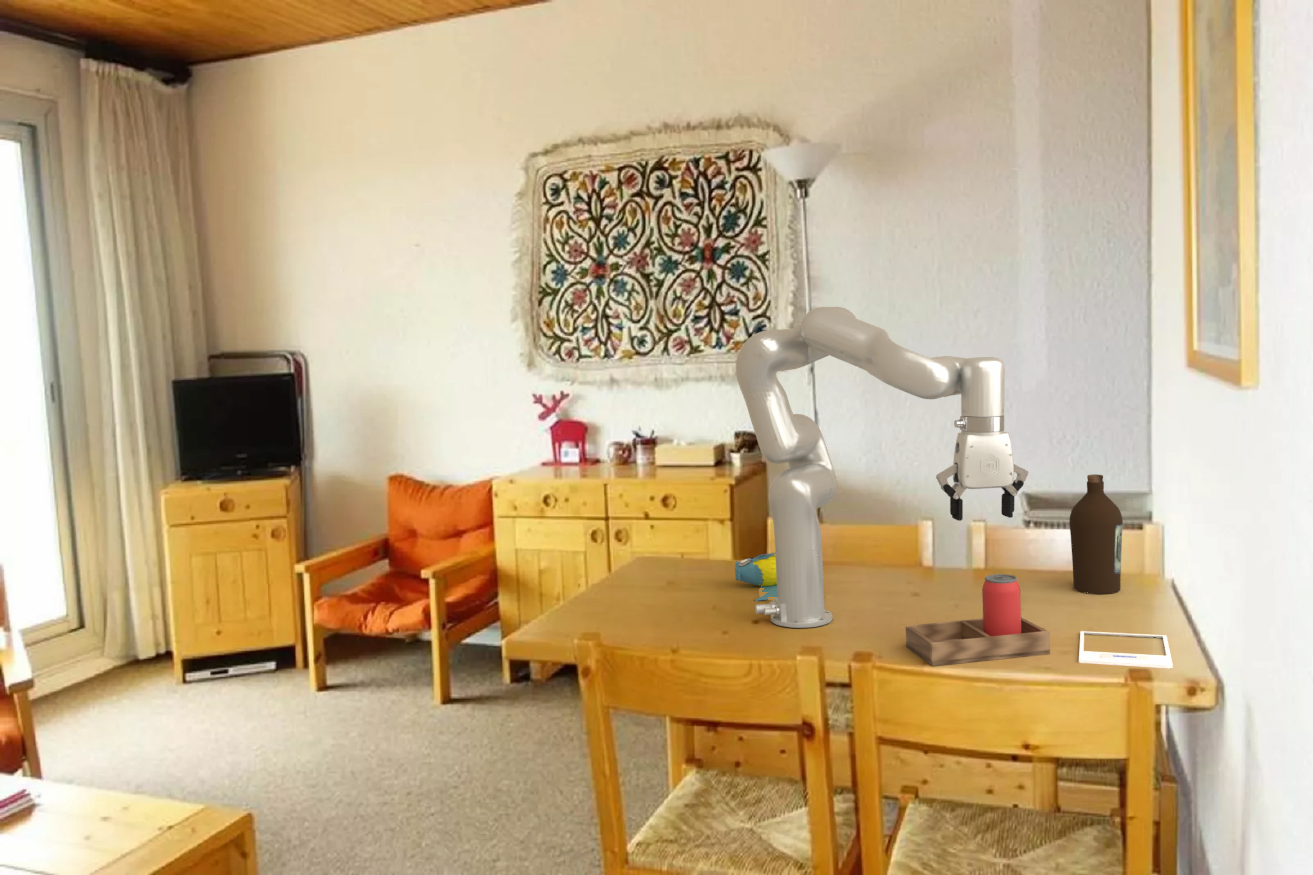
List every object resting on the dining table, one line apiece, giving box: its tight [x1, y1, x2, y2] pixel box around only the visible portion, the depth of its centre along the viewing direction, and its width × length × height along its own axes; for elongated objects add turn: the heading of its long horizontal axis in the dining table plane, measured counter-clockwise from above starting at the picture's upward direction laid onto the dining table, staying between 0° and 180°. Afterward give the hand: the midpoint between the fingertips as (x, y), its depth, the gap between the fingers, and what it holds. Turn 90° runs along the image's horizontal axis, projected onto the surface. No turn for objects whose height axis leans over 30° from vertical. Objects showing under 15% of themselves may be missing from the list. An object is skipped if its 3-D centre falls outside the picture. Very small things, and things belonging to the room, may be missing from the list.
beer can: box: [981, 573, 1022, 636], centre depth 194 cm, size 7×7×12 cm
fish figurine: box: [734, 551, 777, 602], centre depth 250 cm, size 28×9×15 cm
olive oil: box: [1069, 473, 1124, 595], centre depth 230 cm, size 11×11×25 cm
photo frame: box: [1078, 630, 1174, 669], centre depth 189 cm, size 15×1×18 cm
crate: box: [905, 616, 1051, 667], centre depth 194 cm, size 22×12×4 cm, turn 99°
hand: (982, 517), depth 196 cm, fingers open, 9 cm apart
